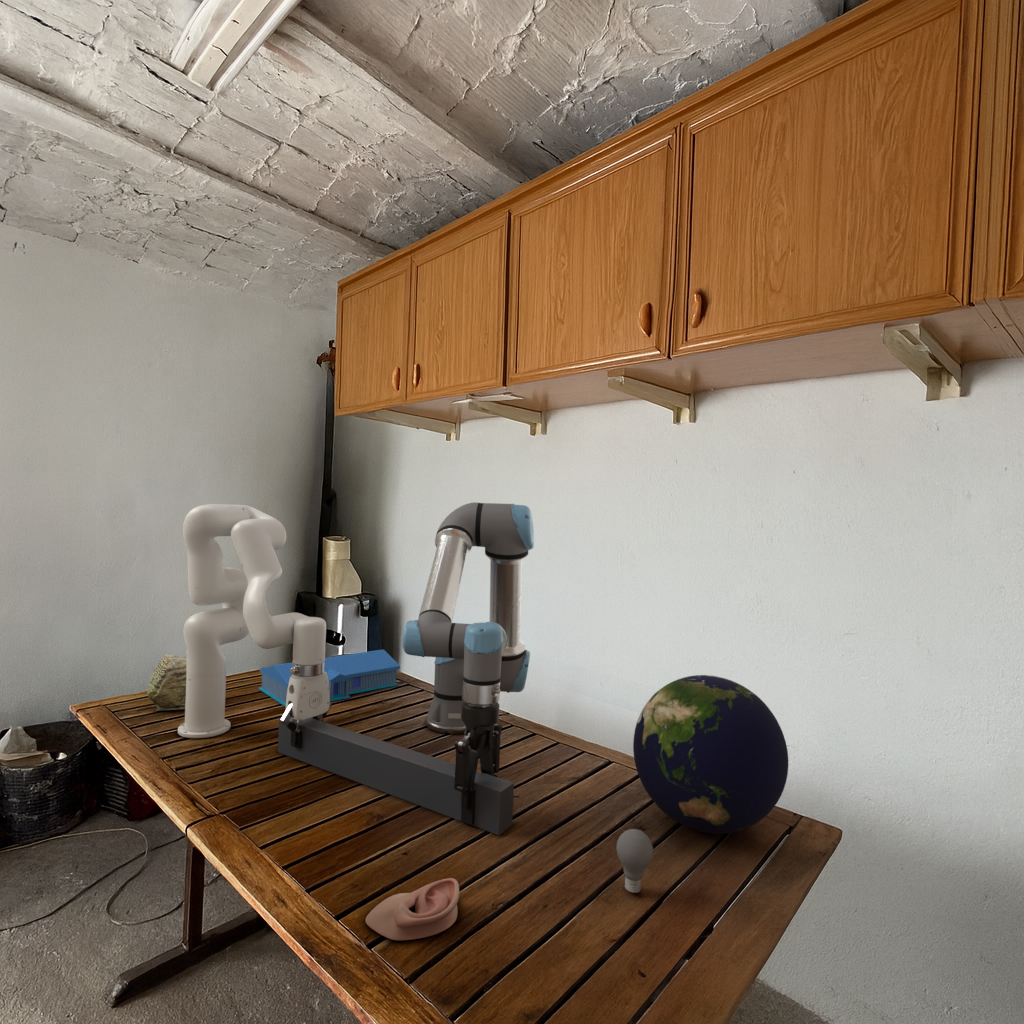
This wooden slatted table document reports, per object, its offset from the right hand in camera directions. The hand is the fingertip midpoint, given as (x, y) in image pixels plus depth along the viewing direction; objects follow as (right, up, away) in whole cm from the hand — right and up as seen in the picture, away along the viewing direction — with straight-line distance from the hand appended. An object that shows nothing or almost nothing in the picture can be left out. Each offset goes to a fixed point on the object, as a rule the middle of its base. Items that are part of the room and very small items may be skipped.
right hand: (475, 816), depth 127 cm
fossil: (-89, +4, +58) cm, 106 cm away
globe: (+46, -3, +2) cm, 47 cm away
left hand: (-43, +5, +27) cm, 51 cm away
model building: (-52, +3, +81) cm, 96 cm away
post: (-21, +1, +13) cm, 25 cm away
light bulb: (+27, -2, -22) cm, 35 cm away
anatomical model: (-8, -1, -31) cm, 32 cm away
